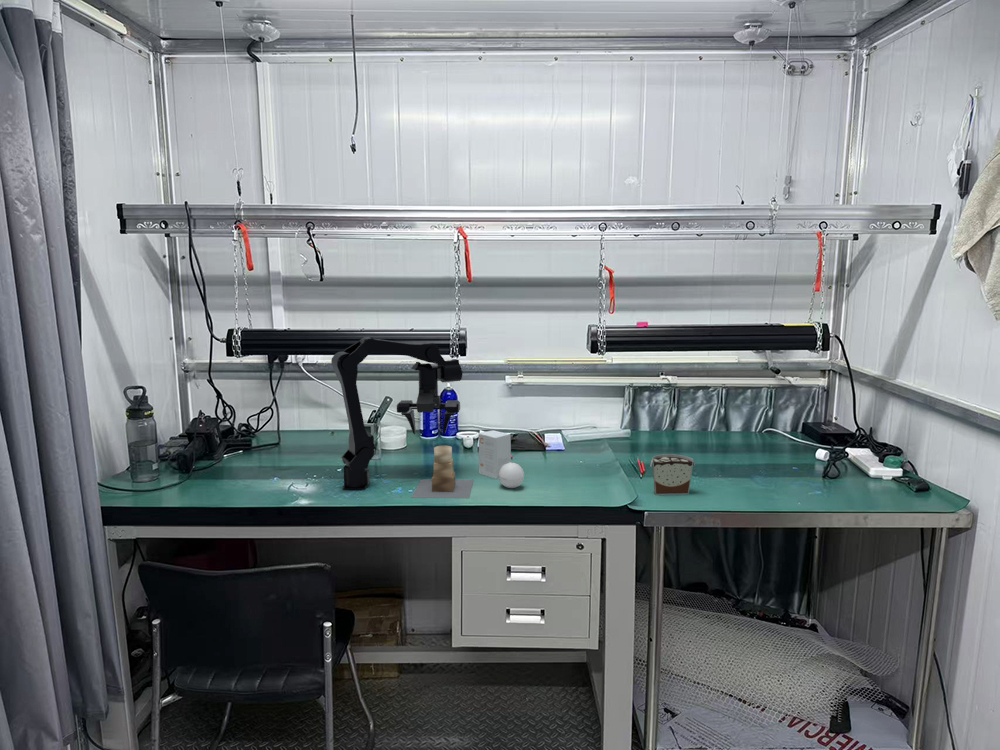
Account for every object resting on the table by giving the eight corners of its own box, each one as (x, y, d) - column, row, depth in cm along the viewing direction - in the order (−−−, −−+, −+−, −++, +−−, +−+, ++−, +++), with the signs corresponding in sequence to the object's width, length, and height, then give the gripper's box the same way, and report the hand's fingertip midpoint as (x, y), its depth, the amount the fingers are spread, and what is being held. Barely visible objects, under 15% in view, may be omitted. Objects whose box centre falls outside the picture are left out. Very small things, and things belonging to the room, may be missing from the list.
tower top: (433, 477, 179) (433, 463, 178) (436, 472, 184) (436, 458, 183) (451, 477, 178) (451, 464, 178) (453, 472, 183) (453, 458, 183)
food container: (687, 487, 182) (688, 453, 181) (694, 494, 176) (695, 459, 175) (644, 487, 182) (645, 453, 180) (650, 494, 176) (651, 460, 174)
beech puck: (433, 463, 178) (432, 450, 177) (435, 458, 183) (435, 445, 182) (450, 463, 178) (450, 450, 177) (453, 458, 183) (452, 445, 182)
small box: (511, 475, 194) (511, 434, 192) (496, 480, 190) (496, 437, 188) (493, 469, 200) (493, 429, 198) (478, 474, 196) (477, 433, 194)
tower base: (432, 491, 179) (431, 478, 178) (435, 484, 185) (434, 471, 184) (453, 491, 178) (452, 478, 178) (455, 485, 184) (455, 471, 184)
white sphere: (523, 483, 186) (523, 459, 185) (524, 491, 179) (524, 466, 178) (489, 483, 187) (489, 459, 185) (489, 491, 179) (488, 466, 178)
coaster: (411, 498, 174) (411, 497, 174) (420, 480, 190) (420, 479, 190) (469, 499, 173) (469, 498, 173) (474, 480, 189) (474, 479, 189)
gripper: (392, 388, 184) (393, 440, 186) (456, 388, 183) (457, 440, 185) (399, 382, 195) (401, 431, 197) (460, 382, 194) (460, 431, 196)
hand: (429, 434), depth 194 cm, fingers open, 9 cm apart
